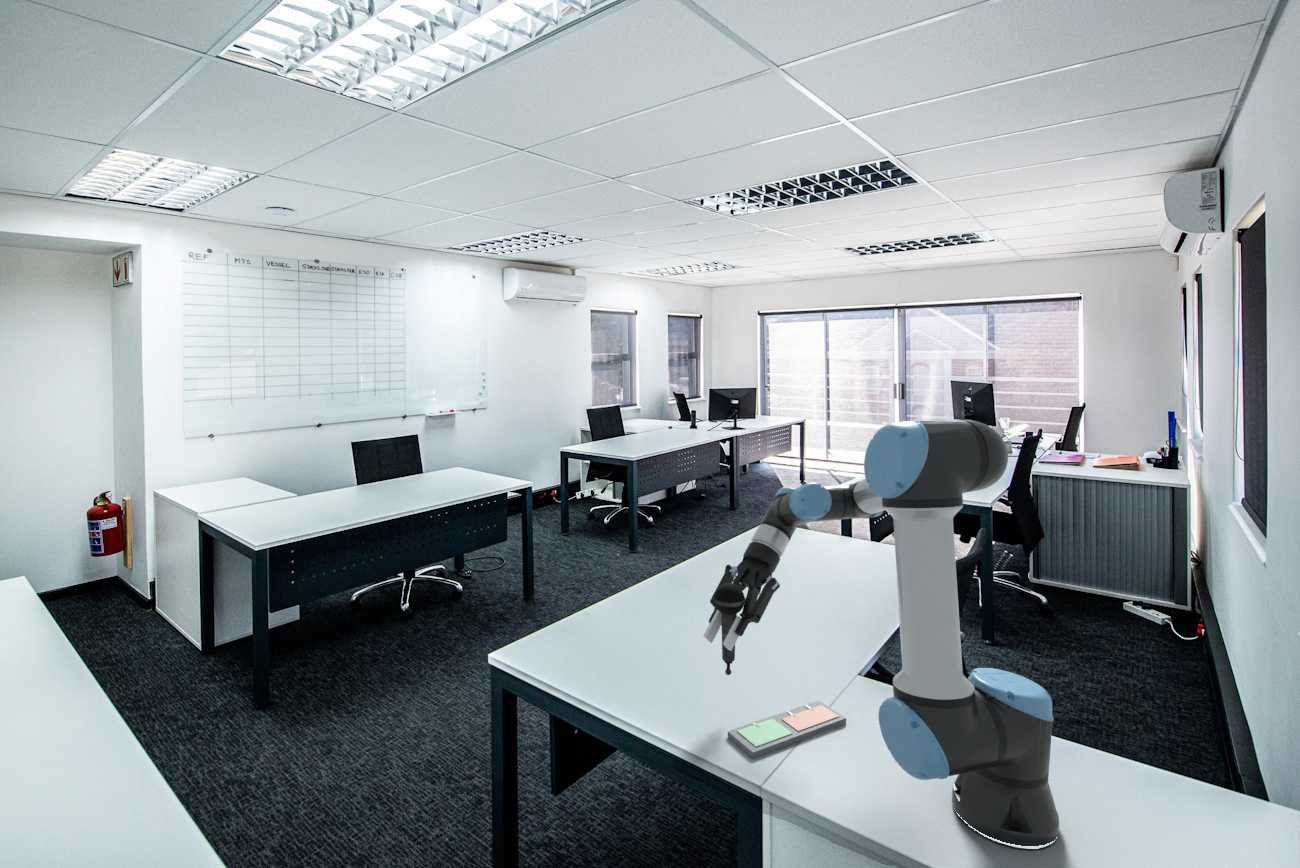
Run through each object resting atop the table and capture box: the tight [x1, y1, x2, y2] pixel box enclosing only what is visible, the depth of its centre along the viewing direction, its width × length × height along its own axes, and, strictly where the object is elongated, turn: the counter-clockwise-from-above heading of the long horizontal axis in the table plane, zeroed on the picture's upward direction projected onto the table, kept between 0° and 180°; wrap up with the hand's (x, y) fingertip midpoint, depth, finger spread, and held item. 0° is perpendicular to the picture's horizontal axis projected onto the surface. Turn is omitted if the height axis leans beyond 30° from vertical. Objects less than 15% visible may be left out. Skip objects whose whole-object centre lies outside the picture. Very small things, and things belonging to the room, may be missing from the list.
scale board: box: [727, 699, 847, 759], centre depth 127 cm, size 8×24×1 cm, turn 119°
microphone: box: [712, 582, 746, 676], centre depth 133 cm, size 7×7×20 cm
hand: (717, 643), depth 131 cm, fingers closed on microphone, 5 cm apart
